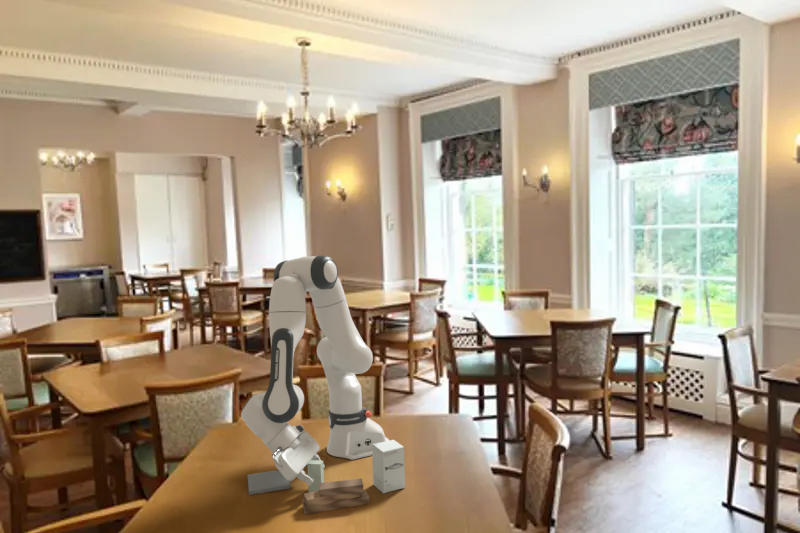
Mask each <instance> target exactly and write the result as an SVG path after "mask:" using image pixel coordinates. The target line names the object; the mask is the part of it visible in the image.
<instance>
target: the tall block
mask: <svg viewBox="0 0 800 533" xmlns="http://www.w3.org/2000/svg"><path fill="white" fill-rule="evenodd" d="M323 464H324V460H321V461H318V460H310V461H309V462H308V464H307V465H306V466H307V475H308V476H309V477H310V476H311V477H312V478H313V479H314V482H313V483H312V484H311V485H310V486H309V485H307V486H308V488H307V489H308V490H307V491H308V493H310V492H315V491H319V483H325V475H324V474H325V473H324V471H325V470H324V469H325V467H323Z"/></svg>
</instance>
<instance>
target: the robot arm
mask: <svg viewBox="0 0 800 533" xmlns="http://www.w3.org/2000/svg"><path fill="white" fill-rule="evenodd" d="M338 269H339V268H338V265H337V263H336V262H335V261H334V259H332V257H330V256H326V255H315V256H312V255H311V256H309V255H308V256H302V257H297V258H294V259H287V260H283V261H280V262H279V263H278V264H277V265H276V266H275V267H274V270H273V278H272V279H273V283H272V286H271V290H270V296H269V306H268V323H269V325H268V326H269V334H270V347H271V350H270V351H271V352H270V366H269V367H270V370H269V371H270V372H269V383H268V387H267V389H266V391H264V392H262V393H255V394H253V395H252V396H251V397H250V398H249V399H248V400H247V401H246V402H245V403H244V405H243V407H242V408H241V414H240V416H241V419H242V420H243V423H245V424H246V426H247V427H248V428H249V429H250V431H252V433H254V435H255V436H256V437H258V438H260V439H261V440H262V441H263V443H264V445H265V446H266V447H267V448H268V450H270V451H271V452H272V461H273V462H274V466H275V467H276V469H277V470H279V471H280V473H281V474H282V475H283V476H284V477H285V478H286V479H287V480H288V481H290V482H293V481H294V480H295V479H296V478H297V479H298V480H299V481H302V482H305V483H306V485H307V486H308V485H309V486H310V485H311V484H312V483H313V482H314V479H313V478H312V477H311V476H310V477H309V476H308V474H306V471H304V468H306V466H307V464H308V462H309V461H310V460H318V461H322V460H321V458H320V455H318V453H319V451H320V450H321V446H320V444H319V443H318V442H317V440H316V439H315V438H314V437H313V436H312V435H311V434H310V433H308V431H305V430H306V429H305V427H304V426H303V425H302V424H298V425H291V424H290V423H289V422H290V421H291V420H292V419H293V418H295V416H296V415H297V414H298V413H299V412H300V411H301V410H302V408H303V406H304V403H305V394H304V391H303V390H302V388H301V387H300V386H298V385H297V384H294V383H293V380H294V379H293V377H294V376H293V375H294V373H293V372H294V355H295V350H296V348H297V346H298V343H299V342H300V341H301V339H302V337H303V336H304V333H305V328H306V324H307V322H306V320H307V306H306V293H307V292H310V295H311V296H310V297H311V301H312V305H313V308H314V312H315V315H316V320H317V322H318V326H319V328H320V330H321V331H322V332H323V334H324V335H325V337H323V338H321V340H319V341H318V343H317V347H316V355H317V358H318V359H319V361H320V362H321V365H322V368H323V371H324V375H325V379H326V381H327V386H328V396H329V397H328V398H329V400H328V401H329V409H328V426H329V438H328V444H327V447H326V452H327V453H328V455H331V456H333V457H338V458H345V459H347V460H356V459H357V460H358V459H360V458H361V459H362V458H365V457H369V456H370V457H371V456H372V444H376V443H381V442H385V441H390V439H389V438H388V437H387V436H386V435H385V432H384V429H383V427H382V426H381V425H380V424H378V423H377V422H376V421H374V420H373V419H371V418H372V416H373V414H372V412H371V411H370V410H368V409H367V408H366V407H364V406H363V400H362V399H363V397H362V385H361V383H360V382H359V380H358V378H357V376H356V375H357V374H358V375H359V374H360V375H361V374H364V373H366V372H367V371H369V369H370V368H371V366H372V364H373V359H374V356H373V351H372V350H371V348H370V347H369V346H368V344H366V342H364V340H363V338H362V336H361V334H360V332H359V330H358V328H357V327H356V325H355V323H354V321H353V318H352V316H351V312H350V308H349V305H348V301H347V297H346V294H345V290H344V288H343V284H342V283H341V280H340V278H339V270H338ZM323 467H324V468H325V467H326V466H325V464H324V463H323Z"/></svg>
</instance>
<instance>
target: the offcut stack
mask: <svg viewBox="0 0 800 533" xmlns="http://www.w3.org/2000/svg"><path fill="white" fill-rule="evenodd" d="M370 503H371V502H370V495H369V493H368V492H367V490H366V489H364V482H363V479H362V478H355V479H354V478H353V479H345V480H338V481H337V480H336V481H327V482H324V483H319V491H315V492H310V493H309V492H306V493H303V499H302V508H303V512H304V515H310V514H311V515H312V514H317V513H320V512H321V513H322V512H327V511H331V510H339V509H346V508H350V507H356V506H363V505H368V504H370Z"/></svg>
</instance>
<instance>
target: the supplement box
mask: <svg viewBox="0 0 800 533" xmlns="http://www.w3.org/2000/svg"><path fill="white" fill-rule="evenodd" d="M389 440H390V439H389ZM371 456H372V458H371V459H372V484H373V485H374V487H375V488H377V490H379V491H380V492H381V493H382V494H386V493H391V492H393V491H398V490H400V489H405V488H406V474H405V473H406V472H405V471H406V469H405V468H406V467H405V447H404V446H403V445H402V444H401V443H399V442H398V441H396V440H395V439H391V440H390V441H385V442H381V443H376V444H372V455H371Z"/></svg>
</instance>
